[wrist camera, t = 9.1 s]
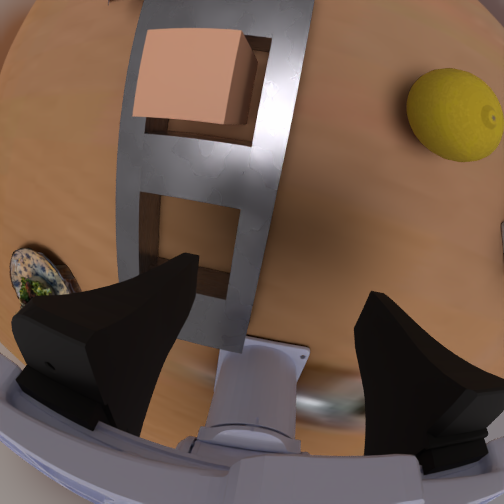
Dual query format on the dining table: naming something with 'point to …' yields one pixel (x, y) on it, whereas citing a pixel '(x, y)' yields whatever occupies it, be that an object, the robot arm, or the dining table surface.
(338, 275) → the dining table surface
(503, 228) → the coffee box
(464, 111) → the lemon
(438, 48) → the dining table surface
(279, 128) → the grey slotted board
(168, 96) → the peg
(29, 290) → the burger
